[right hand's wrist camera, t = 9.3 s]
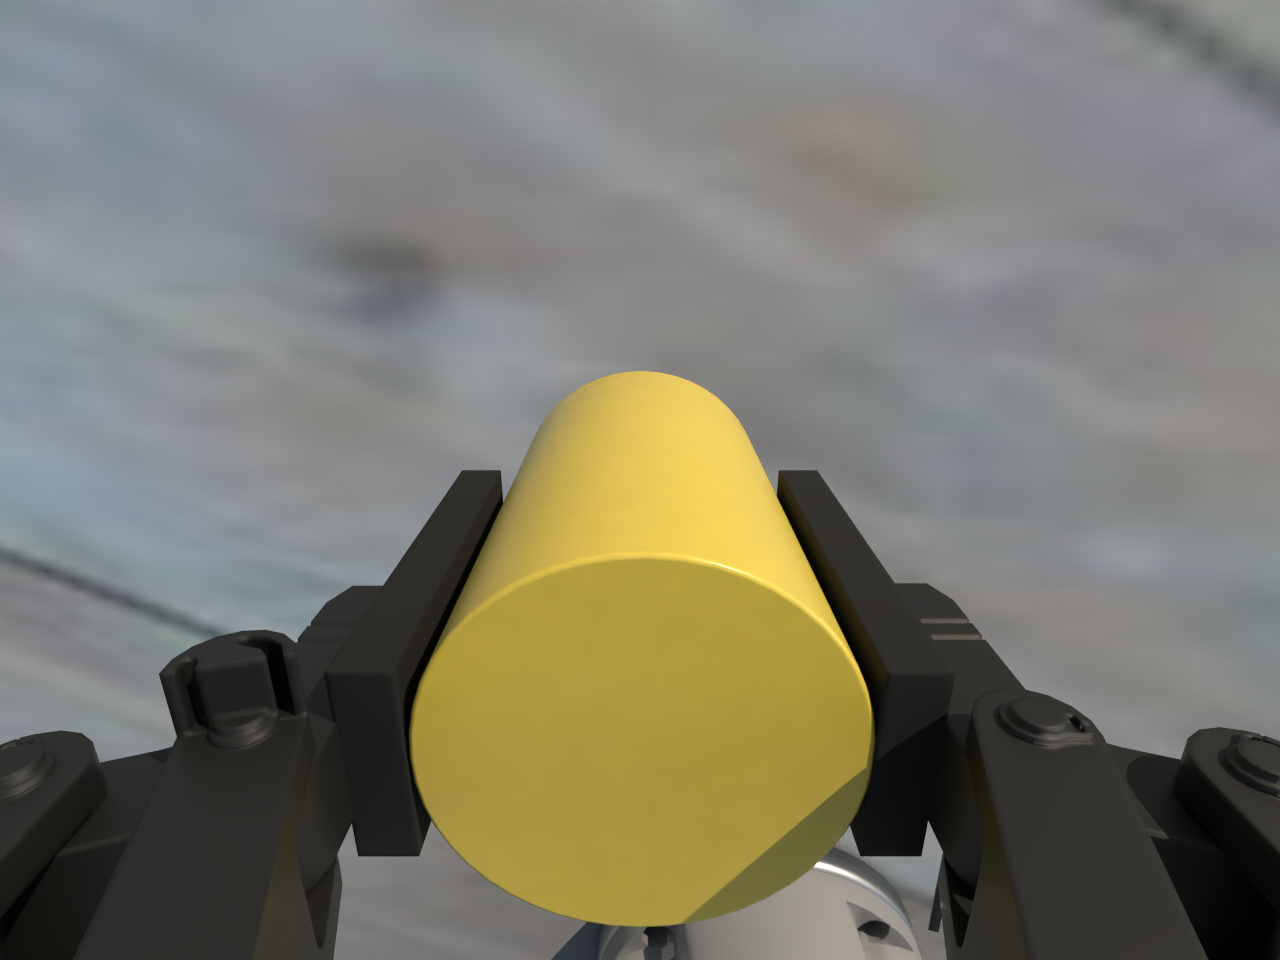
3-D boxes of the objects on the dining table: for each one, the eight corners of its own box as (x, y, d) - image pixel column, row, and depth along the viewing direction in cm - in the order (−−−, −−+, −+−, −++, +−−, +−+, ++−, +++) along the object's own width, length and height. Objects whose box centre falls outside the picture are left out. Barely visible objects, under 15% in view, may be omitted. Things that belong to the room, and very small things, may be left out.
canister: (750, 358, 16) (879, 529, 7) (762, 575, 18) (875, 912, 9) (506, 384, 16) (354, 579, 7) (544, 596, 18) (457, 945, 9)
